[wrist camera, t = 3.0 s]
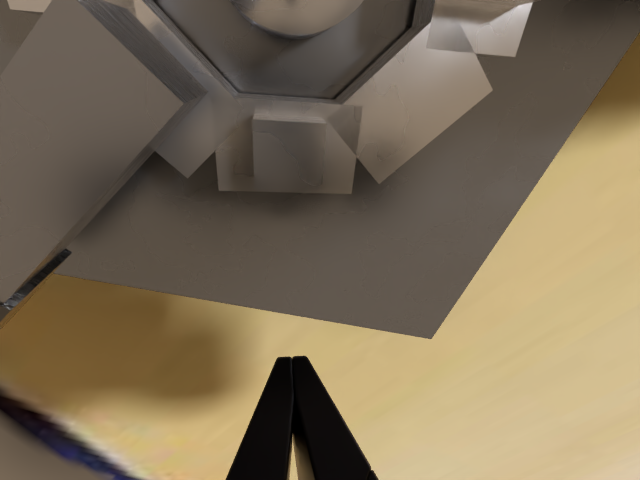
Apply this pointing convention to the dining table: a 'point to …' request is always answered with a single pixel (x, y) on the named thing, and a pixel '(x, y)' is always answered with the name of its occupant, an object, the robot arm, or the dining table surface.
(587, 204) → the dining table surface
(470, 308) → the dining table surface
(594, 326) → the dining table surface
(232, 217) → the cap plate
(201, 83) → the grey ring frame
